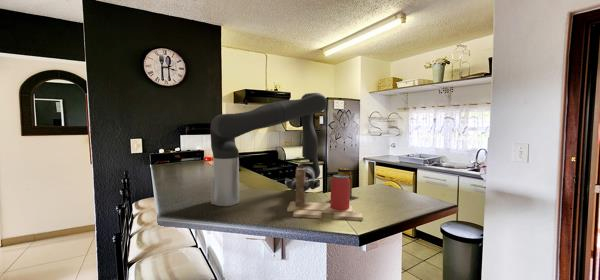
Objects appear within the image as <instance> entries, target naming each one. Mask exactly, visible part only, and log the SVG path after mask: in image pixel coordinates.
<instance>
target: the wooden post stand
mask: <svg viewBox="0 0 600 280" xmlns="http://www.w3.org/2000/svg"><path fill="white" fill-rule="evenodd" d="M295 175H296V189H295V201H290V203H289V204H288V206H287V212H293V213H294V210H310V211H322V214H333V215H334V212H351V213H354V211H353V207H352V204H350V203H349V209H347V210H335V209H332V208H331V207H330V203H329V202H311V201H309V202H308V201H306V192H304V184H305V168H298V167H297V168H296V169H295Z"/></svg>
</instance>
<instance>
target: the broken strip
mask: <svg viewBox="0 0 600 280" xmlns="http://www.w3.org/2000/svg"><path fill="white" fill-rule="evenodd" d="M322 214H323V213H322V211H310V210H294V212H293V213H292V217H294V218H306V219H307V218H310V219H313V218H314V219H322ZM362 214H363V213H361V212H353V213H351V212H334V214H333V220H346V221H347V220H348V221H363V220H364V217H363V215H362Z"/></svg>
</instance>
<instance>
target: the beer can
mask: <svg viewBox="0 0 600 280" xmlns="http://www.w3.org/2000/svg"><path fill="white" fill-rule="evenodd" d="M350 201H351V200H350V180H349V176H347V175H340V174H338V173H337V174H333V175H332V178H331V182H330V207H331V208H332V209H335V210H347V209H349V204H350Z"/></svg>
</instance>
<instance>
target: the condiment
mask: <svg viewBox="0 0 600 280" xmlns="http://www.w3.org/2000/svg"><path fill="white" fill-rule="evenodd" d="M338 174H340V175H347V176H349V180H350V201H352V200H355V199H358V198H359V196H355V195H353V193H352V192H353V190H352V189H353V176H352V169H351V168H350V167H349V168H348V167H340V168H337V175H338Z"/></svg>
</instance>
